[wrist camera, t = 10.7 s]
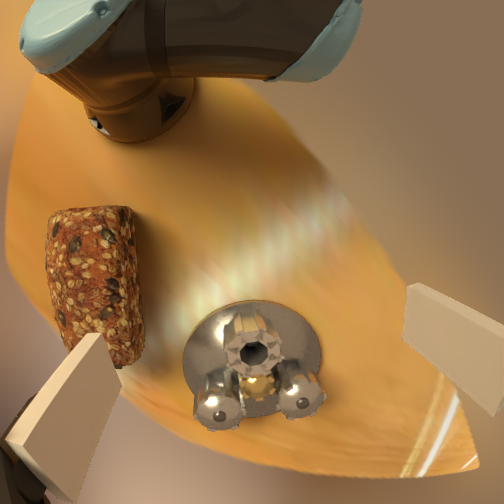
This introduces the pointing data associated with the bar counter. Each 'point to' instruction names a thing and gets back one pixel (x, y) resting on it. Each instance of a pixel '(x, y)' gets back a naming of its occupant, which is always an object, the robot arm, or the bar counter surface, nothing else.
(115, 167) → the bar counter surface
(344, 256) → the bar counter surface
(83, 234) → the bread
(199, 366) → the carrier
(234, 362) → the planet gear
